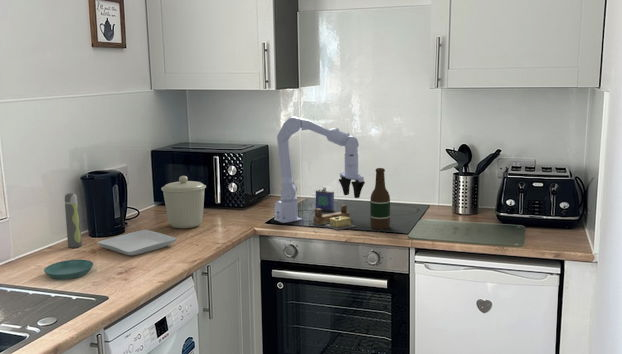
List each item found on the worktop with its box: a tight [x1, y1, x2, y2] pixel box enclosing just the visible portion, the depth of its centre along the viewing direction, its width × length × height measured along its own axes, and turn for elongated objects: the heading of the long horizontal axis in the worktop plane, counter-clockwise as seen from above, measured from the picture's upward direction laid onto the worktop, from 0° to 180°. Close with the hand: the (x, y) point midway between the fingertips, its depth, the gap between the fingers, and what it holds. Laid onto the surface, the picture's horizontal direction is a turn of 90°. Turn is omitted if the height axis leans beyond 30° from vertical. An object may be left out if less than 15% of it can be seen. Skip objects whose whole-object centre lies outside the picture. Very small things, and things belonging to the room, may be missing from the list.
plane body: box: [312, 204, 351, 226], centre depth 255 cm, size 16×4×6 cm, turn 122°
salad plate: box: [96, 229, 178, 257], centre depth 222 cm, size 21×21×3 cm
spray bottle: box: [64, 193, 83, 249], centre depth 224 cm, size 5×5×20 cm
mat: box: [324, 223, 356, 231], centre depth 247 cm, size 9×9×1 cm
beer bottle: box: [369, 167, 391, 231], centre depth 242 cm, size 8×8×24 cm
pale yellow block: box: [329, 216, 352, 228], centre depth 247 cm, size 7×5×4 cm
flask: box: [315, 187, 335, 212], centre depth 275 cm, size 9×3×11 cm, turn 61°
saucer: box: [43, 259, 94, 281], centre depth 194 cm, size 15×15×3 cm
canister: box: [161, 175, 207, 230], centre depth 251 cm, size 18×18×21 cm
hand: (351, 196), depth 257 cm, fingers open, 7 cm apart
